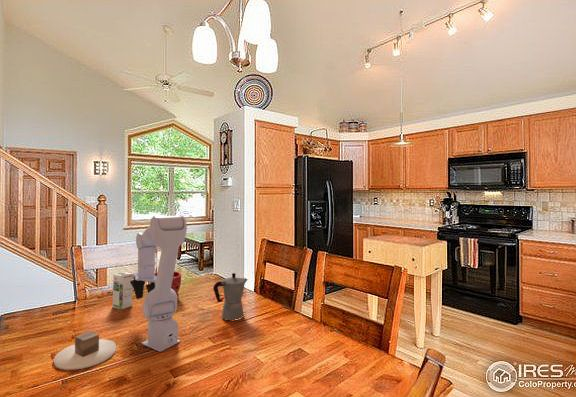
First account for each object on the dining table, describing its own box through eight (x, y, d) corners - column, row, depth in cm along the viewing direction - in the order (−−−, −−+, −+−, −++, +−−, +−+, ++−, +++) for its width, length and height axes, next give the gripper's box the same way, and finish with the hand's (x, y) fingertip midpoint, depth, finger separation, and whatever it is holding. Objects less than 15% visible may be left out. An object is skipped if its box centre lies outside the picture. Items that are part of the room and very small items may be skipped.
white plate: (126, 351, 98) (126, 347, 98) (71, 376, 84) (71, 372, 84) (98, 337, 106) (98, 335, 106) (43, 359, 92) (43, 355, 92)
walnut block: (98, 350, 96) (98, 334, 96) (82, 357, 92) (83, 340, 92) (90, 346, 99) (90, 330, 99) (74, 352, 95) (75, 336, 95)
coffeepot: (240, 309, 135) (241, 268, 134) (252, 316, 127) (253, 273, 127) (207, 318, 125) (208, 273, 125) (218, 326, 118) (219, 279, 117)
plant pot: (144, 302, 140) (144, 276, 140) (163, 293, 153) (164, 269, 152) (168, 306, 136) (168, 279, 136) (186, 297, 149) (187, 272, 148)
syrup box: (111, 307, 133) (112, 274, 133) (124, 303, 138) (125, 271, 138) (120, 310, 131) (120, 276, 130) (133, 305, 136) (133, 273, 135)
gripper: (124, 263, 117) (124, 299, 117) (149, 269, 110) (148, 307, 110) (141, 260, 123) (141, 294, 123) (165, 265, 116) (165, 301, 116)
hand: (145, 300), depth 117 cm, fingers open, 7 cm apart
